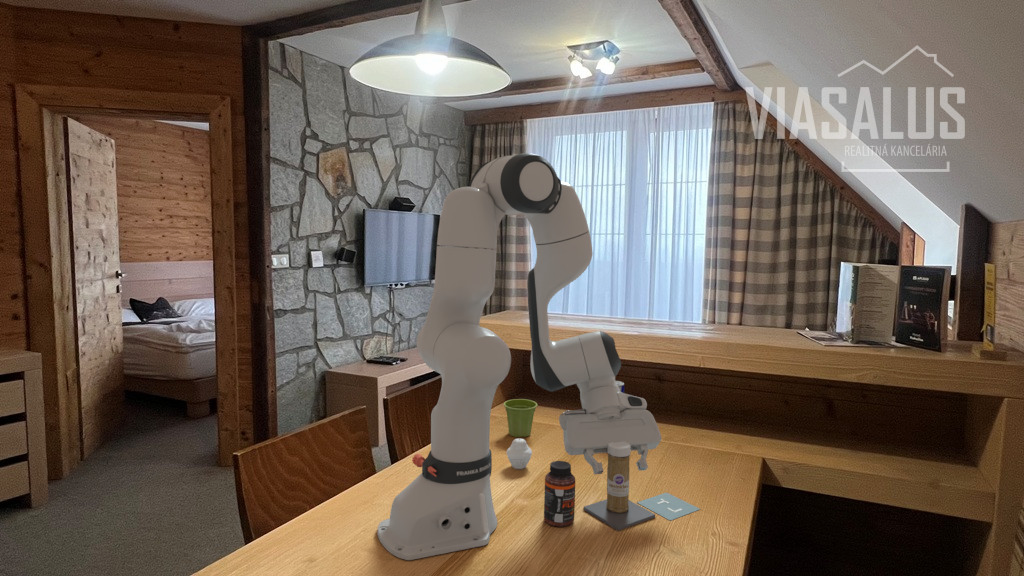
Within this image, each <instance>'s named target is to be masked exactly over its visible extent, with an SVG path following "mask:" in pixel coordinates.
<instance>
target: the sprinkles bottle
mask: <svg viewBox="0 0 1024 576" xmlns="http://www.w3.org/2000/svg"><path fill="white" fill-rule="evenodd" d="M607 452H608V453H607V468H606V469H607V471H606V474H607V475H606V491H607V494H606V499H607V504H606V507H607V509H609V510H610V511H612V512H617V513H623V512H626V511H627V510H628V509H629V506H628V500H629V495H630V456H631V452H632V451H631V446H630V444H629V443H627V442H614V443H613V442H611V443H608V447H607Z"/></svg>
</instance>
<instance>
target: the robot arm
mask: <svg viewBox="0 0 1024 576" xmlns="http://www.w3.org/2000/svg"><path fill="white" fill-rule="evenodd" d="M441 209H442V210H441V214H440V217H439V224H438V231H437V240H436V241H437V242H436V253H435V254H436V257H435V258H436V259H435V272H434V273H435V274H434V285H433V290H432V291H433V292H432V295H431V296H432V297H431V300H430V302H429V308H428V311H427V315H426V318H425V323H424V325H423V326H422V328H421V329H420V330H419V332H418V335H417V337H416V349H417V353H418V355H419V356H420V358H421V359H422V361H423V363H424V364H425V365H426V366H427V367H428V368H429V369H431V370H432V371H433V372H435V373H438V374H439V375H440V377H441V388H440V393H439V397H438V400H437V403H436V405H435V406H434V407H433V408H432V410H431V414H430V450H429V452H428V455H427V456H426V458H425V457H424V456H423V455H421V454H419V453H416V454H414V455H413V457H412V460H411V461H412V464H414V465H415V466H416V467H418V468H421V473H420V474H419V475H418V476H417V477H416V478H415V479H414V480H413V481H411V483H409V484H408V485H407V486H406V487H405V488H404V489H403V490H401V491H400V492H399V493H398V494H397V495H396V496H395V497H394V499H393V500H392V504H391V508H390V515H389V518H387V519H386V518H385V519H384V520H381V521H380V522H379V524H378V526H377V532H376V533H377V538H378V540H379V542H380V543H381V545H382V546H383V547H384V549H386V551H387V552H389V553H390V554H391V555H393V556H395V557H397V558H399V559H402V560H405V561H412V560H417V559H422V558H428V557H432V556H433V557H434V556H438V555H444V554H447V553H453V552H458V551H463V550H468V549H473V548H478V547H484V546H485V545H488V544H489V541H490V536H491V534H493V532H494V530H496V528H497V526H498V519H497V518H498V517H497V516H496V512H495V507H494V503H493V496H492V488H491V487H492V486H491V476H492V468H493V466H492V465H493V464H492V463H493V462H492V461H493V460H492V458H493V457H492V450H491V449H490V436H491V435H490V429H491V428H490V426H491V425H490V424H491V413H492V412H491V411H492V406H493V402H494V398H495V394H496V392H497V388H498V386H499V385H500V384H501V383H502V382H503V381H504V380H505V379H506V378H507V376H508V374H509V372H510V370H511V365H512V355H511V351H510V348H509V346H508V344H507V343H506V342H505V341H504V340H503V339H502V338H501V337H500V335H498V334H496V333H495V332H494V331H492V330H490V329H489V328H486V327H483V326H480V322H481V318H482V314H483V311H484V307H485V305H486V304H487V301H488V300H489V299H490V297H491V296H492V294H493V293H494V291H495V283H496V282H495V281H496V265H497V247H498V230H499V226H500V223H501V221H503V218H504V216H507V215H508V216H516V215H523V216H524V217H525V218H526V220H527V221H528V222H529V225H530V227H531V229H532V230H531V231H532V235H533V238H534V242H535V247H536V260H535V264H534V267H533V268H532V269H531V270H530V271H528V275H527V283H526V286H527V307H528V310H527V311H528V322H529V331H530V332H529V333H530V341H531V351H530V372H531V375H532V378H533V380H534V382H535V384H536V386H538V387H540V388H542V389H543V390H546V391H548V392H556V391H558V390H561V389H563V388H566V387H568V386H572V385H576V386H577V388H578V389H579V392H580V393H579V398H580V405H581V408H582V409H575V410H570V409H568V410H564V412H562V413H560V415H559V417H558V421H559V425H560V427H561V429H562V430H563V431H562V433H563V445H564V450H565V452H566V453H567V454H568V455H569V456H581V455H583V457H584V460H585V461H586V462H587V463H588V464H589V465H590V467H592V471H593V475H602V474H603V473H604V467H603V462H599V461H597V460H596V458H595V457H594V456H593V455H596V454H608V452H607V447H608V443H611V442H613V443H614V442H627V443H629V444H630V446H631V452H632V451H637V453H638V455H640V459H637V462H635V464H636V467H637V470H638V471H647V470H648V468H649V465H648V463H647V462H648V461H647V456H648V453H649V450H655V449H657V447H658V445H659V444H660V443H661V441H662V435H661V432H660V429H659V426H658V423H657V421H656V420H655V417H654V415H653V414H652V413H651V411H649V410H647V406H648V403H647V401H646V399H645V398H643V397H639V396H636V395H635V396H634V395H632V394H628V393H625V392H624V393H622V392H620V389H619V387H618V386H617V384H616V381H617V380H616V377H617V375H618V374H619V371H620V369H621V367H622V362H621V361H622V360H621V358H620V356H619V353H618V351H617V348H616V343H615V338H614V337H612V336H611V335H610V334H608V333H606V332H604V331H602V330H597V331H595V330H594V331H590V332H588V333H583V334H579V335H577V336H576V335H575V336H572V337H568V338H564V339H559V340H555V341H554V340H551V339H550V328H549V312H548V308H549V303H550V301H551V300H552V298H554V296H555V295H556V294H558V293H559V292H560V291H562V289H564V288H566V287H567V286H568V285H569V284H571V283H572V282H574V281H576V280H578V278H579V277H581V276H582V275H583V273H584V272H585V271H586V270H587V269H588V267H589V266H590V263H592V262H591V261H592V258H593V244H592V238H591V233H590V228H589V225H588V221H587V218H586V213H585V211H584V209H583V206H582V203H581V201H580V198H579V196H578V195H577V192H576V189H575V188H574V187H573V186H572V185H571V184H570V183H568V182H565V181H561V179H560V178H559V177H558V175H557V172H556V169H555V168H554V167H553V165H552V164H551V163H550V162H549V161H548V160H547V159H546V158H545V157H543V156H541V155H539V154H536V153H531V152H530V153H529V152H526V153H525V152H523V153H518V154H514V155H504V156H501V157H500V156H499V157H497V158H495V159H492V160H491V161H487V162H484V163H483V164H481V166H479V167H478V168H477V169H476V170H475V172H474V173H473V175H472V177H471V178H470V181H469V182H468V184H467V185H466V186H462V187H457V188H456V189H452V190H451V191H450V192H448V194H447V195H446V197H445V198H444V202H443V206H442V208H441Z"/></svg>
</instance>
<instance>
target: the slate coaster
mask: <svg viewBox="0 0 1024 576" xmlns="http://www.w3.org/2000/svg"><path fill="white" fill-rule="evenodd" d="M606 504H607V498H605V499H603V500H601V501H597V502H594V503H591V504H587V505H585V506H583V510H584V511H586V512H587V513H588V514H590V515H592V516H593V517H595V518H596V519H598V520H600V521H601V522H603V523H605V524H606V525H607V526H609V527H611V528H613V529H614V530H615V531H617V532H618V531H622V530H624V529H626V528H627V529H628V528H630V527H633V526H636V525H639V524H641V523H644V522H646V521H649V520H652V519H655V518H656V513H655V512H653V511H651V510H649V509H647V508H645V507H643V506H642V505H640V504H638V503H635V502H633V501H631V500H629V499H628V506H629V509H628V510H627V511H626V512H623V513H617V512H612V511H610V510H609V509H607V507H606Z"/></svg>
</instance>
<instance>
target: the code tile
mask: <svg viewBox="0 0 1024 576" xmlns="http://www.w3.org/2000/svg"><path fill="white" fill-rule="evenodd" d="M636 504H637V505H639V506H641V507H643V508H644V509H646V510H648V511H650V512H652V513H654V514H655V515H656V514H657V515H658V516H660V517H662V518H664V519H666V520H667V521H674V520H677V519H679V518H682V517H685V516H688V515H690V514H692V513H695V512H698V511H700V510H701V508H699V507H697V506H695V505H694V504H691V503H689V502H686V501H685V500H683V499H680V497H677V496H675V495H673V494H670V493H668V492H663V493H661V494H657V495H655V496H652V497H649V498H645V499H643V500H640V501H637V502H636Z"/></svg>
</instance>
